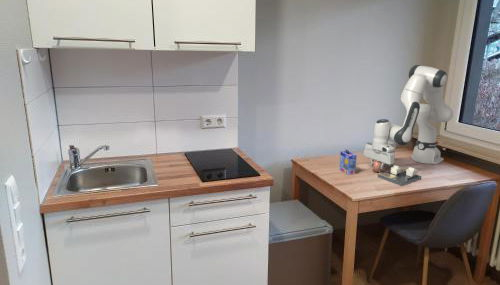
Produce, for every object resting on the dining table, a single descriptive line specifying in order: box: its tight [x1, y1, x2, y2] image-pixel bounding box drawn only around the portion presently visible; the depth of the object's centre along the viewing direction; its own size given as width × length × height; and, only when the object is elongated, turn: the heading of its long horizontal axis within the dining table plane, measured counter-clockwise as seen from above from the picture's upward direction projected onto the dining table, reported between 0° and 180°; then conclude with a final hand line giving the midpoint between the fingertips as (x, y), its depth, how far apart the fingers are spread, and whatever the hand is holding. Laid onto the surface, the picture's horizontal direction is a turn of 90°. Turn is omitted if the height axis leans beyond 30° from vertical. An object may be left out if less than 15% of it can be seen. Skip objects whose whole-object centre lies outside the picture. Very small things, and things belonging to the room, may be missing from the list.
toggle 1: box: [390, 164, 402, 175], centre depth 219 cm, size 4×4×5 cm
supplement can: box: [381, 141, 396, 167], centre depth 240 cm, size 8×8×15 cm
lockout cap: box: [372, 160, 382, 173], centre depth 227 cm, size 5×5×7 cm
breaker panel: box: [377, 169, 422, 186], centre depth 217 cm, size 20×16×3 cm
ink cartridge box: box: [338, 148, 357, 176], centre depth 225 cm, size 10×6×14 cm, turn 20°
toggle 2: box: [405, 166, 418, 176], centre depth 216 cm, size 4×4×5 cm
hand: (377, 167), depth 227 cm, fingers closed on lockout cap, 5 cm apart
